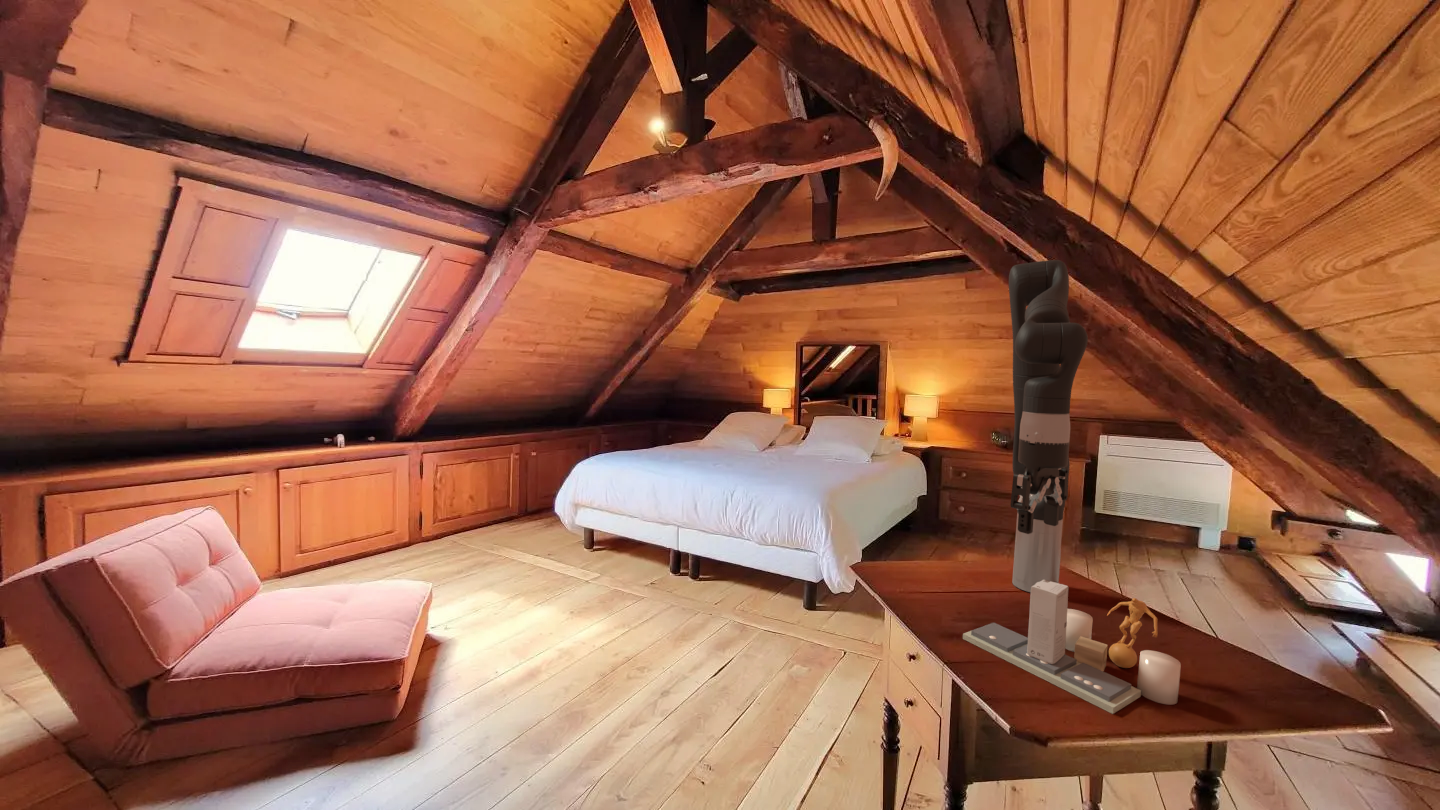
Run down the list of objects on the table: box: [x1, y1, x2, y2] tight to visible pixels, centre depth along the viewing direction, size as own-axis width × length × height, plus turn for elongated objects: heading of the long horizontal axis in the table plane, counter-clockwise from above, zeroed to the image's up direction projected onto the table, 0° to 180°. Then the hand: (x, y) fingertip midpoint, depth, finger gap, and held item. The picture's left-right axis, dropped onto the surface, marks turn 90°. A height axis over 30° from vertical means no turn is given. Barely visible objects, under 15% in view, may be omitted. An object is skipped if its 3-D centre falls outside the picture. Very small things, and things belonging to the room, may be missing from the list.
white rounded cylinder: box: [1065, 608, 1094, 652], centre depth 100 cm, size 5×5×6 cm
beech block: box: [1073, 636, 1109, 672], centre depth 94 cm, size 4×4×4 cm
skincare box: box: [1027, 580, 1069, 664], centre depth 93 cm, size 6×4×12 cm
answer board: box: [962, 622, 1142, 715], centre depth 93 cm, size 9×25×2 cm, turn 31°
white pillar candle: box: [1136, 649, 1182, 706], centre depth 86 cm, size 5×5×6 cm
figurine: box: [1106, 597, 1159, 669], centre depth 94 cm, size 8×6×12 cm
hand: (1038, 528), depth 96 cm, fingers open, 8 cm apart
